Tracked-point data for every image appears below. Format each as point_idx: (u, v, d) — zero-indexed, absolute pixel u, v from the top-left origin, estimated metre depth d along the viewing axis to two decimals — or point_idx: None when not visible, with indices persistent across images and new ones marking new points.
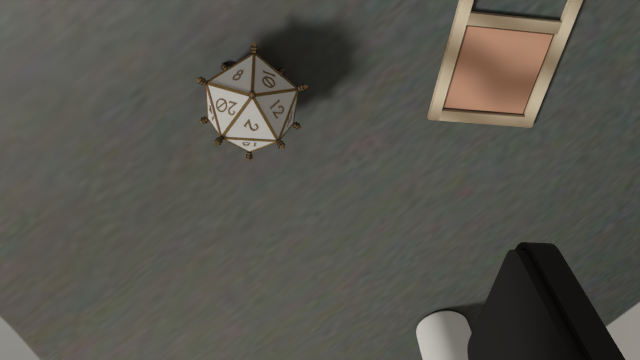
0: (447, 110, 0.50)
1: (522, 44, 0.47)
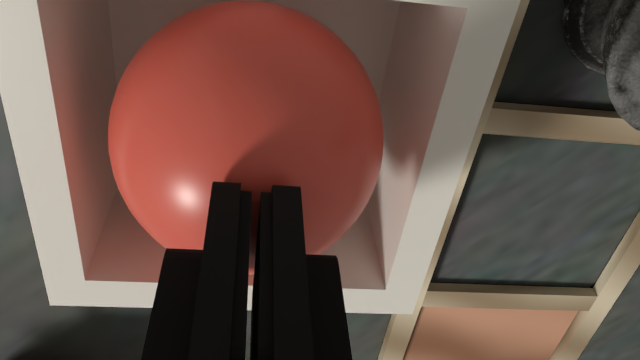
0: None
1: (523, 322, 0.26)
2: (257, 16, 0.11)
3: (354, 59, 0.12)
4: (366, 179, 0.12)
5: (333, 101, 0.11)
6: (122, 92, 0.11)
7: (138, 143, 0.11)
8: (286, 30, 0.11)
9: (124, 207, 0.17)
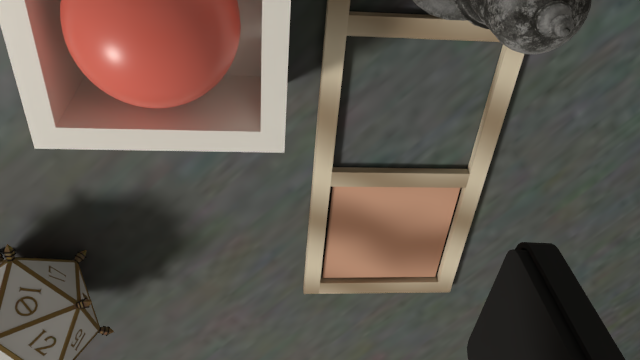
0: (329, 281, 0.37)
1: (417, 201, 0.33)
2: None
3: None
4: (218, 33, 0.19)
5: None
6: None
7: (73, 11, 0.18)
8: None
9: (85, 91, 0.24)
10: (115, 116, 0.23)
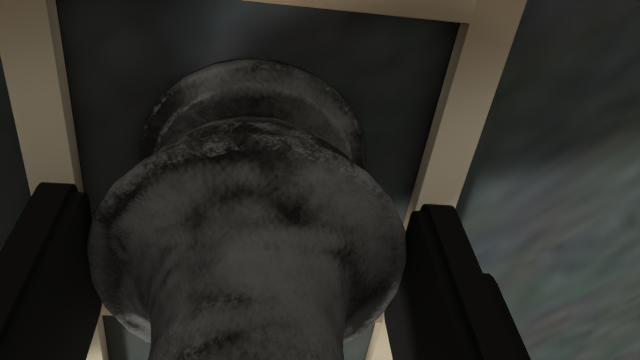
0: None
1: None
2: None
3: None
4: None
5: None
6: None
7: None
8: None
9: None
10: None
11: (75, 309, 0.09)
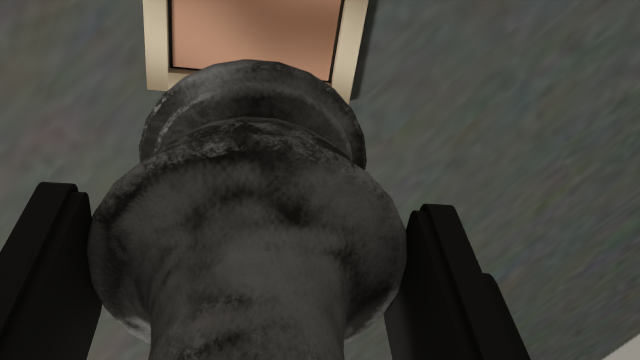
0: (181, 72, 0.27)
1: None
2: None
3: None
4: None
5: None
6: None
7: None
8: None
9: None
10: None
11: (75, 309, 0.09)
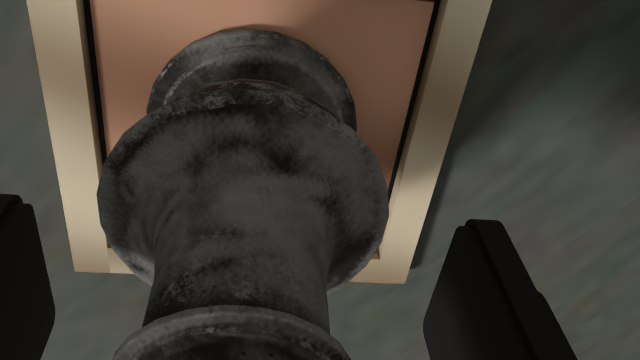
0: None
1: (324, 38, 0.13)
2: None
3: None
4: None
5: None
6: None
7: None
8: None
9: None
10: None
11: (17, 326, 0.09)
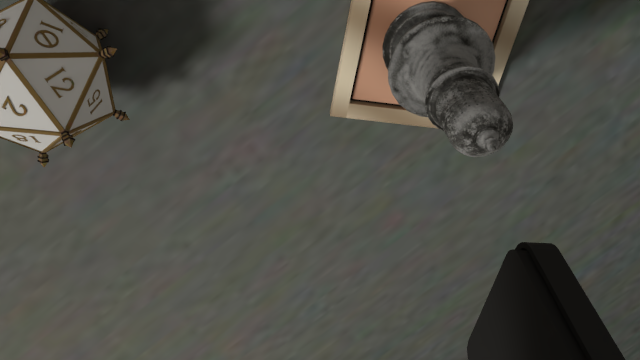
0: (358, 103, 0.35)
1: (462, 7, 0.32)
2: None
3: None
4: None
5: None
6: None
7: None
8: None
9: None
10: None
11: None
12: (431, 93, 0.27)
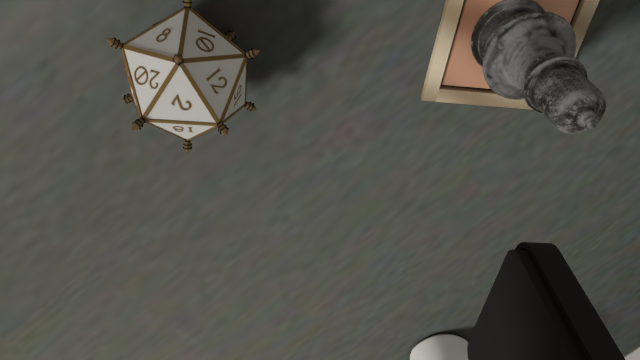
0: (447, 88, 0.40)
1: (543, 1, 0.36)
2: None
3: None
4: None
5: None
6: None
7: None
8: None
9: None
10: None
11: None
12: (530, 80, 0.31)
